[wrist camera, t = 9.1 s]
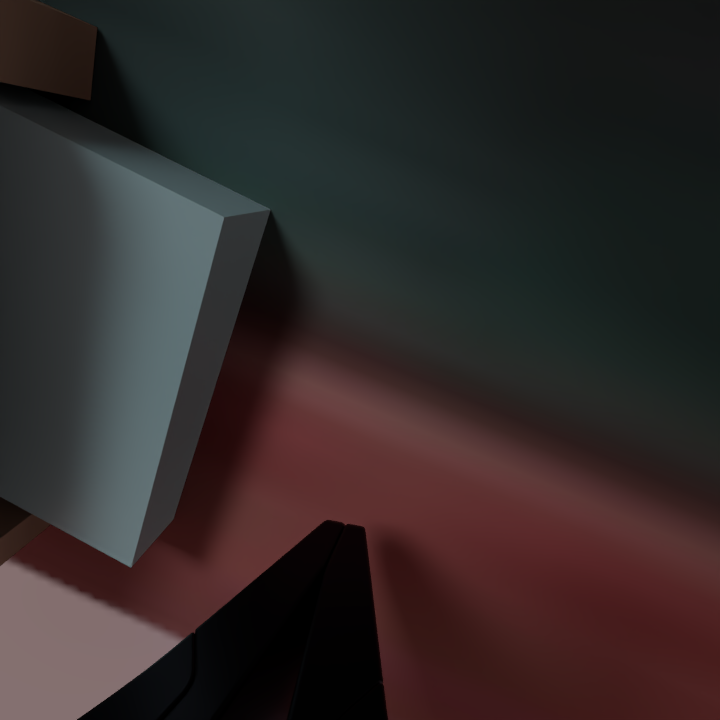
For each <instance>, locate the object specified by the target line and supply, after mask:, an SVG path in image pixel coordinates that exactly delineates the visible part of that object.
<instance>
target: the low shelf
mask: <svg viewBox="0 0 720 720" xmlns="http://www.w3.org/2000/svg"><path fill="white" fill-rule="evenodd" d="M96 36H97V27H95V26H93V25H91V24H89V23H86V22H84V21H82V20H80V19H78V18H75V17H73V16H71V15H69V14H66V13H64V12H62V11H60V10H58V9H55V8H53V7H51V6H49V5H46V4H44V3H42V2H40V1H38V0H0V82H3V83H7V84H12V85H17V86H22V87H27V88H32V89H37V90H42V91H47V92H52V93H56V94H61V95H66V96H71V97H76V98H81V99H86V100H90V99H91V89H92V78H93V68H94V57H95V47H96ZM48 526H50V523H48V522H46V521H44V520H42V519H40V518H38V517H37V516H35V515H33V514H31V513H29V512H27V511H26V510H24V509H22V508H20V507H18V506H16V505H14V504H13V503H11V502H9V501H7V500H5V499H3V498H2V497H0V566H1V565H2V564H3V563H4V562H6V561H7V560H8V559H9V558H11V557H12V556H13V555H14V554H15V553H17V552H18V551H19V550H20V549H22V548H23V547H24V546H25V545H26V544H28V543H29V542H30V541H31V540H33V539H34V538H35V537H36V536H37V535H39V534H40V533H41V532H42V531H44V530H45V529H46V528H47V527H48Z"/></svg>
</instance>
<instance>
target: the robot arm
mask: <svg viewBox="0 0 720 720" xmlns="http://www.w3.org/2000/svg"><path fill="white" fill-rule="evenodd" d="M77 720H388V716H387V709H386V700H385V692H384V685H383V676H382V668H381V659H380V651H379V642H378V634H377V625H376V617H375V608H374V600H373V591H372V583H371V574H370V566H369V557H368V548H367V540H366V532H365V528H364V527H362V526H357V525H352V524H347V525H345V524H344V523H342V522H337V521H332V520H326V521H324V522H323V523H322V524H320V525H319V526H318V527H317V528H316V529H314V530H313V531H312V532H311V533H310V534H309V535H307V536H306V537H305V538H304V539H303V540H301V541H300V542H299V543H298V544H297V545H295V546H294V547H293V548H292V549H291V550H290V551H288V552H287V553H286V554H285V555H284V556H282V557H281V558H280V559H279V560H278V561H276V562H275V563H274V564H273V565H272V566H271V567H269V568H268V569H267V570H266V571H265V572H263V573H262V574H261V575H260V576H259V577H257V578H256V579H255V580H254V581H253V582H252V583H250V584H249V585H248V586H247V587H246V588H244V589H243V590H242V591H241V592H240V593H238V594H237V595H236V596H235V597H234V598H233V599H231V600H230V601H229V602H228V603H227V604H225V605H224V606H223V607H222V608H221V609H219V610H218V611H217V612H216V613H215V614H214V615H212V616H211V617H210V618H209V619H208V620H206V621H205V622H204V623H203V624H202V625H200V626H199V627H198V628H197V629H196V630H195V633H191V634H190V635H188V636H187V637H186V638H185V639H184V640H182V641H181V642H180V643H179V644H178V645H176V646H175V647H174V648H173V649H172V650H170V651H169V652H168V653H167V654H165V655H164V656H163V657H162V658H160V659H159V660H158V661H157V662H156V663H154V664H153V665H152V666H150V667H149V668H148V669H147V670H146V671H144V672H143V673H141V674H140V675H139V676H137V677H136V678H135V679H133V680H132V681H130V682H129V683H128V684H126V685H125V686H124V687H122V688H121V689H120V690H118V691H117V692H115V693H114V694H113V695H111V696H110V697H108V698H107V699H106V700H104V701H103V702H101V703H100V704H99V705H97V706H96V707H94V708H93V709H92V710H90V711H89V712H87V713H86V714H84V715H83V716H82V717H80V718H79V719H77Z"/></svg>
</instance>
